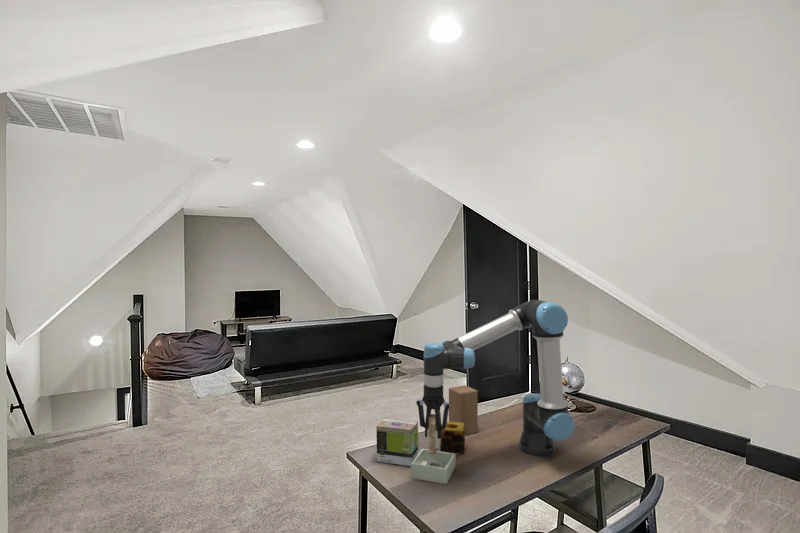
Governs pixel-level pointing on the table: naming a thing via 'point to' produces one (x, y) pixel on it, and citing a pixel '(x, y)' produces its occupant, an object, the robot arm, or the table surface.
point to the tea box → (397, 441)
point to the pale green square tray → (433, 466)
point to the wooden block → (464, 407)
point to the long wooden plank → (432, 434)
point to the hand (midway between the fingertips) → (433, 445)
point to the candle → (453, 438)
